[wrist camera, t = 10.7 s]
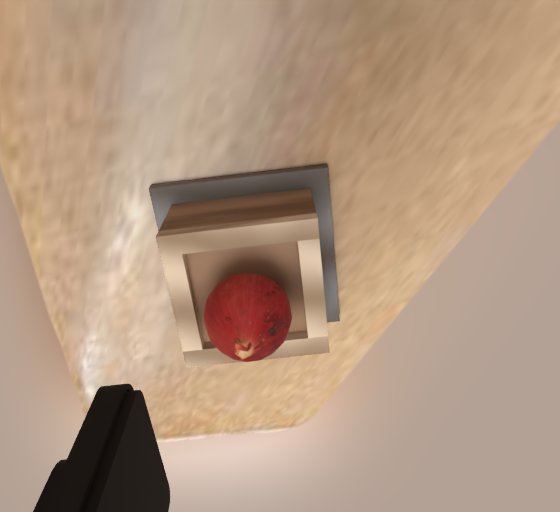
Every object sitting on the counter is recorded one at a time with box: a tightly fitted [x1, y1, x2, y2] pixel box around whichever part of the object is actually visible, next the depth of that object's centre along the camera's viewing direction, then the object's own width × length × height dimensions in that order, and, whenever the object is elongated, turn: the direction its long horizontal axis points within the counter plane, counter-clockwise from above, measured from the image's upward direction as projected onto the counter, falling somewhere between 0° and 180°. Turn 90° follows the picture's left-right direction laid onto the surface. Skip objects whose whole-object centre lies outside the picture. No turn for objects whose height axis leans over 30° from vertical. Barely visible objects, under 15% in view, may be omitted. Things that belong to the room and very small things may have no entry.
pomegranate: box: [204, 273, 292, 362], centre depth 35 cm, size 6×6×8 cm
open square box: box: [149, 164, 340, 368], centre depth 41 cm, size 14×14×8 cm
